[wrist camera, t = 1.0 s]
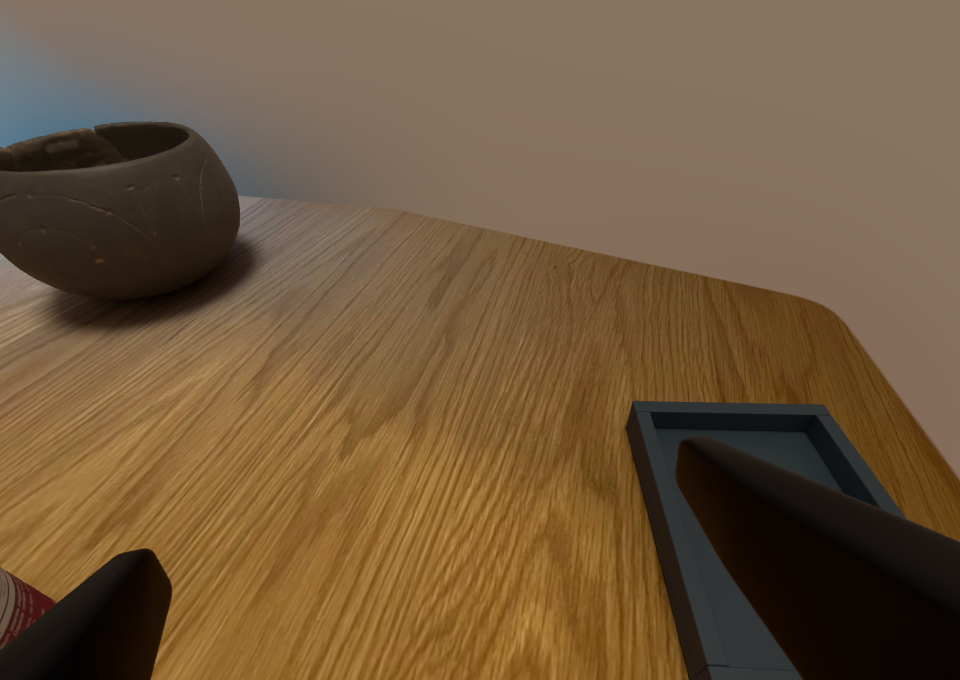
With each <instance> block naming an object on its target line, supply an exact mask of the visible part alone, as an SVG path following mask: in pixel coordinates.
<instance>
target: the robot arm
mask: <svg viewBox="0 0 960 680" xmlns="http://www.w3.org/2000/svg"><path fill="white" fill-rule="evenodd" d="M675 477H676V482H677V484H678V487H679V489H680V491H681V492H682V494H683V496H684V498H685V499H686V501H687V503H688V505H689V506H690V508H691V510H692V512H693V514H694V515H695V517H696V519H697V521H698V522H699V524H700V526H701V528H702V529H703V531H704V533H705V535H706V536H707V538H708V540H709V542H710V543H711V545H712V547H713V549H714V551H715V552H716V554H717V556H718V557H719V559H720V561H721V562H722V564H723V565H724V567H725V568H726V570H727V571H728V573H729V574H730V576H731V577H732V579H733V580H734V582H735V583H736V584H737V586H738V587H739V589H740V590H741V592H742V593H743V594H744V596H745V597H746V599H747V600H748V602H749V603H750V605H751V606H752V607H753V609H754V610H755V612H756V613H757V615H758V616H759V617H760V619H761V620H762V622H763V623H764V625H765V626H766V627H767V629H768V630H769V632H770V633H771V635H772V636H773V637H774V639H775V640H776V642H777V643H778V645H779V646H780V647H781V649H782V650H783V652H784V653H785V655H786V656H787V658H788V659H789V660H790V662H791V663H792V665H793V666H794V668H795V669H796V670H797V672H798V673H799V675H800V676H801V678H802V679H803V680H960V542H959V541H957V540H955V539H952V538H950V537H947V536H945V535H943V534H940V533H938V532H935V531H933V530H931V529H928V528H926V527H923V526H921V525H919V524H916V523H914V522H911V521H909V520H906V519H904V518H902V517H899V516H897V515H894V514H892V513H890V512H887V511H885V510H882V509H880V508H878V507H875V506H873V505H870V504H868V503H866V502H863V501H861V500H858V499H856V498H854V497H851V496H849V495H846V494H844V493H841V492H839V491H837V490H834V489H832V488H829V487H827V486H825V485H822V484H820V483H817V482H815V481H813V480H810V479H808V478H805V477H803V476H801V475H798V474H796V473H793V472H791V471H789V470H786V469H784V468H781V467H779V466H776V465H774V464H772V463H769V462H767V461H764V460H762V459H760V458H757V457H755V456H752V455H750V454H748V453H745V452H743V451H740V450H738V449H736V448H733V447H731V446H728V445H726V444H724V443H721V442H719V441H716V440H714V439H712V438H709V437H706V436H695V437H690V438H685V439H683V440H682V441H681V442H680V444H679V448H678V456H677V464H676V471H675ZM171 597H172V586H171V582H170V580H169V578H168V576H167V575H166V573H165V571H164V569H163V567H162V566H161V564H160V562H159V560H158V559H157V557H156V555H155V553H154V552H153V551H152V550H150V549H145V548H144V549H139V550H134V551H129V552H124V553H121V554H118V555H116V556H115V557H113V558H112V559H111V560H110V561H108V562H107V563H106V564H105V565H103V566H102V567H101V568H100V569H99V570H97V571H96V572H95V573H94V574H92V575H91V576H90V577H89V578H87V579H86V580H85V581H84V582H83V583H81V584H80V585H79V586H78V587H76V588H75V589H74V590H73V591H72V592H70V593H69V594H68V595H67V596H65V597H64V598H63V599H62V600H60V601H59V602H58V603H57V604H56V605H54V606H53V607H52V608H51V609H49V610H48V611H47V612H46V613H44V614H43V615H42V616H41V617H40V618H38V619H37V620H36V621H35V622H33V623H32V624H31V625H30V626H29V627H27V628H26V629H25V630H24V631H22V632H21V633H20V634H19V635H17V636H16V637H15V638H14V639H13V640H11V641H10V642H9V643H8V644H6V645H5V646H4V647H3V648H1V649H0V680H151V676H152V672H153V668H154V664H155V660H156V657H157V653H158V649H159V645H160V641H161V637H162V633H163V629H164V625H165V621H166V617H167V614H168V610H169V606H170V602H171Z"/></svg>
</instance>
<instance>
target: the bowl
mask: <svg viewBox="0 0 960 680" xmlns="http://www.w3.org/2000/svg"><path fill="white" fill-rule="evenodd" d="M94 128H95V130H91V129H87V128H81V129H76V130H69V131H63V132H57V133H52V134H48V135H46V136H40V137H36V138H32V139H29V140H26V141H23V142H19V143H14V144H12V145H10V146H8V147H6V149H4V148H0V253H1V254H2V255H3V256H4V257H6V258H7V259H8V260H9V261H10V262H11V263H12V264H14V265H15V266H16V267H18V268H19V269H20V270H22V271H23V272H25V273H27V274H28V275H30V276H32V277H33V278H35V279H37V280H39V281H41V282H43V283H45V284H48V285H50V286H52V287H55V288H57V289H60V290H63V291H66V292H70V293H74V294H78V295H82V296H87V297H93V298H101V299H137V298H145V297H151V296H157V295H161V294H165V293H168V292H171V291H174V290H176V289H179V288H181V287H184V286H186V285H188V284H190V283H192V282H194V281H196V280H197V279H199V278H201V277H202V276H204V275H205V274H207V273H208V272H209V271H211V269H213V268H214V267H215V266H216V265H218V264H219V263H220V261H221V260H222V259H223V258H224V257H225V256H226V254H227V253H228V252H229V250H230V248H231V247H232V245H233V243H234V241H235V239H236V236H237V233H238V229H239V225H240V206H239V200H238V195H237V191H236V188H235V186H234V183H233V181H232V179H231V177H230V176H229V174H228V172H227V170H226V169H225V167H224V165H223V164H222V162H221V160H220V159H219V157H218V156H217V155H216V153H215V152H214V150H213V149H212V148H211V147H210V145H209V144H208V143H207V142H206V141H205V140H204V139H203V138H202V137H201V136H200V135H199V134H198V133H196V132H195V131H194V130H193V129H191V128H189V127H186V126H184V125H181V124H176V123H169V122H121V123H110V124H102V125H98V126H94Z"/></svg>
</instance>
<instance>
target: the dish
mask: <svg viewBox="0 0 960 680" xmlns="http://www.w3.org/2000/svg"><path fill="white" fill-rule="evenodd" d="M628 418H629V419H628V422H627V425H626V428H627V432H628V436H629V440H630V444H631V448H632V452H633V456H634V460H635V464H636V468H637V472H638V475H639V479H640V483H641V487H642V491H643V495H644V499H645V503H646V507H647V511H648V515H649V519H650V523H651V527H652V531H653V535H654V539H655V543H656V547H657V551H658V555H659V559H660V563H661V567H662V571H663V575H664V579H665V583H666V587H667V591H668V595H669V599H670V603H671V606H672V610H673V614H674V618H675V622H676V626H677V630H678V634H679V638H680V642H681V646H682V650H683V654H684V658H685V662H686V666H687V670H688V674H689V678H690V680H803V679H802V678H801V676H800V675H799V673H798V672H797V670H796V669H795V668H794V666H793V665H792V663H791V662H790V660H789V659H788V658H787V656H786V655H785V653H784V652H783V650H782V649H781V647H780V646H779V645H778V643H777V642H776V640H775V639H774V637H773V636H772V635H771V633H770V632H769V630H768V629H767V627H766V626H765V625H764V623H763V622H762V620H761V619H760V617H759V616H758V615H757V613H756V612H755V610H754V609H753V607H752V606H751V605H750V603H749V602H748V600H747V599H746V597H745V596H744V594H743V593H742V592H741V590H740V589H739V587H738V586H737V584H736V583H735V582H734V580H733V579H732V577H731V576H730V574H729V573H728V571H727V570H726V568H725V567H724V565H723V564H722V562H721V561H720V559H719V557H718V556H717V554H716V552H715V551H714V549H713V547H712V545H711V543H710V542H709V540H708V538H707V536H706V535H705V533H704V531H703V529H702V528H701V526H700V524H699V522H698V521H697V519H696V517H695V515H694V514H693V512H692V510H691V508H690V506H689V505H688V503H687V501H686V499H685V498H684V496H683V494H682V492H681V491H680V489H679V487H678V484H677V482H676V477H675V471H676V464H677V456H678V448H679V444H680V442H681V441H682V440H683V439H685V438H690V437H695V436H706V437H709V438H712V439H714V440H716V441H719V442H721V443H724V444H726V445H728V446H731V447H733V448H736V449H738V450H740V451H743V452H745V453H748V454H750V455H752V456H755V457H757V458H760V459H762V460H764V461H767V462H769V463H772V464H774V465H776V466H779V467H781V468H784V469H786V470H789V471H791V472H793V473H796V474H798V475H801V476H803V477H805V478H808V479H810V480H813V481H815V482H817V483H820V484H822V485H825V486H827V487H829V488H832V489H834V490H837V491H839V492H841V493H844V494H846V495H849V496H851V497H854V498H856V499H858V500H861V501H863V502H866V503H868V504H870V505H873V506H875V507H878V508H880V509H882V510H885V511H887V512H890V513H892V514H894V515H897V516H899V517H902V518H904V519H906V518H905V517H904V515H903V514H902V512H901V511H900V510H899V508H898V507H897V506H896V504H895V503H894V501H893V500H892V499H891V497H890V496H889V495H888V493H887V492H886V490H885V489H884V488H883V486H882V485H881V484H880V482H879V481H878V479H877V478H876V477H875V475H874V474H873V472H872V471H871V470H870V468H869V467H868V466H867V464H866V463H865V461H864V460H863V459H862V457H861V456H860V455H859V453H858V452H857V450H856V449H855V448H854V446H853V445H852V444H851V442H850V441H849V439H848V438H847V437H846V435H845V434H844V432H843V431H842V430H841V428H840V427H839V426H838V424H837V423H836V421H835V420H834V419H833V417H832V416H831V414H830V413H829V412H828V410H827V409H826V407H825V406H824V405H812V404H759V403H706V402H653V401H633V403H632V406H631V410H630V414H629V417H628ZM906 520H907V519H906Z"/></svg>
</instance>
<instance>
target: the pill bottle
mask: <svg viewBox="0 0 960 680" xmlns="http://www.w3.org/2000/svg"><path fill="white" fill-rule="evenodd" d="M56 604H57V602H56V601H54V600H53V599H51V598H49V597H48V596H46V595H44V594H42V593H41V592H39V591H38V590H36V589H35V588H33V587H31V586H30V585H28V584H26V583H25V582H23V581H21V580H20V579H18V578H17V577H15V576H14V575H12V574H10V573H9V572H7V571H5V570H4V569H2V568H0V649H1V648H3V647H4V646H5V645H6V644H8V643H9V642H10V641H11V640H13V639H14V638H15V637H16V636H17V635H19V634H20V633H21V632H22V631H24V630H25V629H26V628H27V627H29V626H30V625H31V624H32V623H33V622H35V621H36V620H37V619H38V618H40V617H41V616H42V615H43V614H44V613H46V612H47V611H48V610H49V609H51V608H52V607H53V606H54V605H56Z"/></svg>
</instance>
